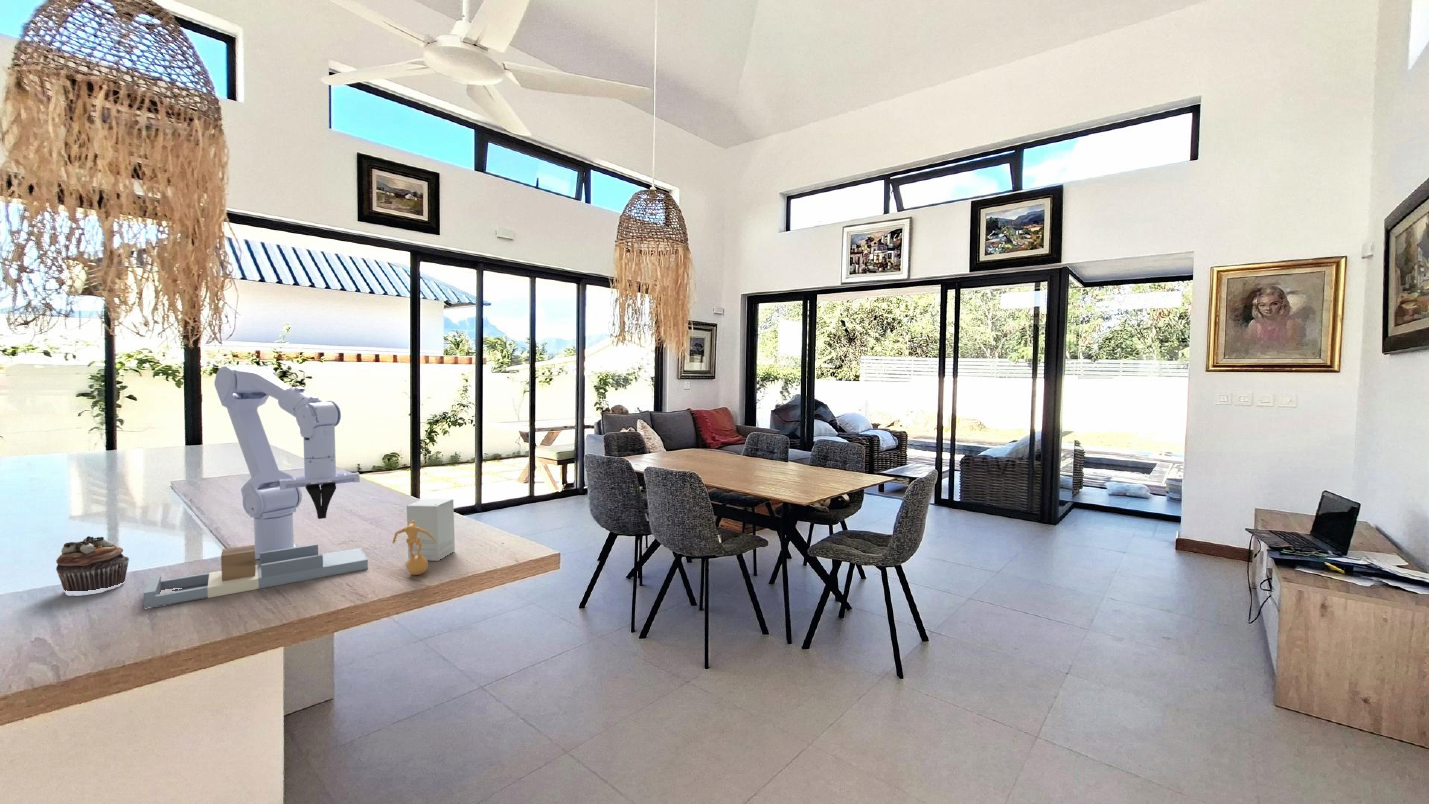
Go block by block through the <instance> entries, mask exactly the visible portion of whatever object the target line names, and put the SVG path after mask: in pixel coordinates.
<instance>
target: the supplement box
mask: <svg viewBox="0 0 1429 804" xmlns="http://www.w3.org/2000/svg"><path fill="white" fill-rule="evenodd" d="M454 507H455V506H454V499H453V498H427V497H426V498H425V497H424V498H422V499H420V500H417V501H415V502H413V503H412V502H411V503H410V504H407V505H406V521H407V522H406V523H407V526H408V525H409V524H410V523H411V521H413V520H414V521H415V522H416V526H417V527H419V528H421V529H423V530H425V531H427V532H429V534H430V535H432V536H433V538H434V539H435V542H436V543H435V542H434V540H433V539H432V538H430V537H429V536H428V535H427V534H425V533H422V532H418V534H417V539H418V538H420V539H421V540H420V541H421V543H422V547H421V551H420V555H422V556H423V557H425V558H426V559H427V561H430V562H431V561H435V562H438V561H440V559H441V560H442V559H444V558H446V557H447V555H448V556H449V555H451V554H453V553H454V552H455V551H456V549H455V548H456V547H455V545H456V544H455V515H454V513H455V510H454ZM407 526H406V527H407ZM407 538H409V537H408V536H407ZM418 548H419V546H418V545H416V543H415V542H414V544H413V551H412V553H413V555H414V556H417V555H418V554H417V549H418ZM407 549H408V550H407V553H408V560H409V559H410V558H411V555H410V552H409V549H410V546H409V545H408V544H407ZM452 552H453V553H452ZM450 553H451V554H450ZM445 556H446V557H445Z"/></svg>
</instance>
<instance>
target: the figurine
mask: <svg viewBox="0 0 1429 804" xmlns="http://www.w3.org/2000/svg"><path fill="white" fill-rule="evenodd" d="M418 532H422V533H425V534H427V535H428V536H429V537H430V538H432V539H433V540H434V542H435V539H434V538H433V536H432V535H430V534H429V532H427V531H425V530H423V529H421V528H419V527H417V526H416V522H415V521H414V520H413V521H411V523H410V524H409V525H408V526H406V527H403V528H402V529H399V530H398V531H396V532H395V533H394V537H393V539H392V544H395V543H397V542H396V541H397V536H398V535H399V534H402V533H406V535H407V538H406V543H407V546H408V545H409V546H410V549H409V552H410V555H411V558H410V559H409V558H408V561H407V563H406V570H407V572H408V573H409V574H411V575H414V576H418V575H419V576H420V575H421V574H424V573H425V572H426V571H427V569H428V566H429V562H428V561H429V560H427V559H426V558H425V557H423V556H422V555H420V551H421V547H422V543H421V541H420V540H421V539H420V538H418V539H417V534H418ZM408 537H409V538H408ZM414 542H415V543H416V545H418V546H419V548H418V549H417V554H418V555H417V556H414V555H413V553H412V551H413V544H414ZM435 543H436V542H435Z"/></svg>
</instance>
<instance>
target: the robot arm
mask: <svg viewBox="0 0 1429 804" xmlns="http://www.w3.org/2000/svg"><path fill="white" fill-rule="evenodd" d="M213 383H214V384H213V385H214V387H215V390H216V393H217V396H218V398H219V400H220V403H221V406H222V407H224V408H226V409H227V413H228V415H229V418H230V423H231V425H232V426H233V429H234V433H235V436H236V438H237V441H238V444H239V446H240V449H241V452H242V455H243V458H244V461H245V464H246V467H247V469H248V473H249V474H250V478H249V479H248V481H246V482H245V483H244V484H243V486H242V487H241V489H240V491H241V496H242V507H243V510H244V512H245V513H246V514H247V515H248V516H249V517H250V518H253V528H254V529H253V532H254V534H253V535H254V545H255V560H260V552H266V551H272V550H279V549H285V548H292V547H297V545H296V542H295V541H294V540H295V539H294V537H295V535H294V513H296V512H297V509H298V507H299V506H301V503H302V501H303V500H302V499H303V493H302V490H301V488H305V489H306V492H307V493H308V494H309V496H310V499H311V500H312V502H313V505H314V507H315V510H316V514H317V516H316V517H317V519H318V520H322V519H327V513H328V509H329V505H330V503H331V501H332V497H333V496H334V493H335V492H336V490H337V485H336V484H346V483H347V484H348V483H360V480H361V479H360V473H359V472H358V471H357V472H346V473H345V472H343V473H341V472H339V473H337V468H336V467H337V462H336V460H337V459H336V433H335V432H336V429H335V428H336V426H338V425H339V424H340V421H341V418H342V415H341V413H342V412H341V408H340V406H339V405H338V404H337V403H335V401H333V400H326V401H322V400H321V399H319V396H316V395H312V393H309V392H308V391H306V388H305V387H303V386H292V387H291V386H289V385H288V384H287V383H285V382H283V381H282V380H281V379H280V378H278V377H277V372H276V370H274V369H272V368H270V367H269V366H257V367H256V366H254V367H253V366H246V367H245V366H226V365H224V366H221V367H219V369H218V370H217V372H216V374H215V379H214V382H213ZM269 397H272V398H274V399H275V400H277V404H278V406H279V408H280V409H282V410H283V411H285V412H287V413H288V414H290V416H292V417H294V418H295V419H296V423H297V425H298V428H299V434H300V436H301V437H302V439H303V462H304V463H303V466H304V469H303V470H304V476H298V477H293V476H292V475H291V474H289V473H287V472H284V471H282V470H281V469H279V468H278V464H277V461H276V459H275V456H274V453H273V450H272V448H271V445H270V442H269V440H268V437H267V434H266V431H265V429H264V425H263V423H262V419H261V418H260V415H259V412H258V408H259V407H261V406H262V405H265V404H266V402H267V400H268V399H269Z"/></svg>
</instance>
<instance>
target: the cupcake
mask: <svg viewBox="0 0 1429 804" xmlns="http://www.w3.org/2000/svg"><path fill="white" fill-rule="evenodd" d="M123 552H124V549H123V548H122V547H120V546H118V545H115V544H114V542H112V541H109V540H107V539H105V538H104V536H98V537H94V536H90V535H89V536H86V537H85V538H84V539H83V540H82V541H77V542H75V541H74V542H73V541H70V542H66V543H64V544H63V547H62V548H61V554H60V555H59V556H58V557H57V559H55V560H56V561H55V562H56V564H57V565H56V569H55V571H56V572H57V576H58V578H59V580H60V583H61V585H62V589H63V591H64V590H65V591H66V590H67V591H88V590H96V589H100V588H108V587H111V586H114V585H118V584H120V583H123V582H124V581H125V582H126V577H127V571H128V566H129V561H130V558H129V557H128V556H125V555H124V554H123Z"/></svg>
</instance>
